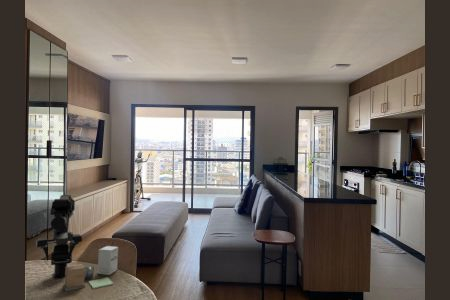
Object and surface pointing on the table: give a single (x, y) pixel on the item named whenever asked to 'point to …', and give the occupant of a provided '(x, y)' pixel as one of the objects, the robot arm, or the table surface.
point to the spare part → (89, 272)
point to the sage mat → (100, 283)
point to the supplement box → (107, 260)
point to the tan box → (74, 277)
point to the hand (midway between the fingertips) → (58, 258)
